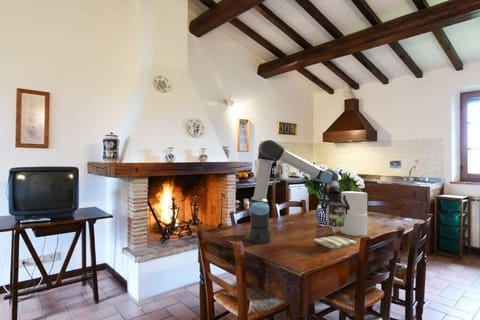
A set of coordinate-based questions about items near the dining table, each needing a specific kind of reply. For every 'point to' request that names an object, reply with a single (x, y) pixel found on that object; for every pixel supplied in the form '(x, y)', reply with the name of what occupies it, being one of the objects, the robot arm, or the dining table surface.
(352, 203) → the cylinder
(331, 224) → the coffee can
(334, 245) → the birch board
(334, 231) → the dining table surface
